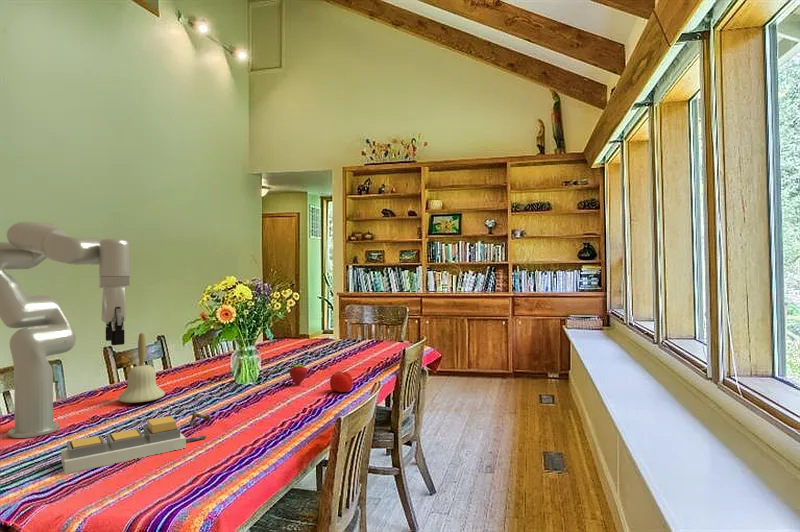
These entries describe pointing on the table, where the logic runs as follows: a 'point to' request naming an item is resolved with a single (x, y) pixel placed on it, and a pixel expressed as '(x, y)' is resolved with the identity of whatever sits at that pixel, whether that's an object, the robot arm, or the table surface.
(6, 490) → the table surface
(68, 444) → the strip
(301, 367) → the strawberry
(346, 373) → the tomato
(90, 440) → the button left
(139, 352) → the handbell
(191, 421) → the wooden post with brackets
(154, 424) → the button right
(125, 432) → the button middle
